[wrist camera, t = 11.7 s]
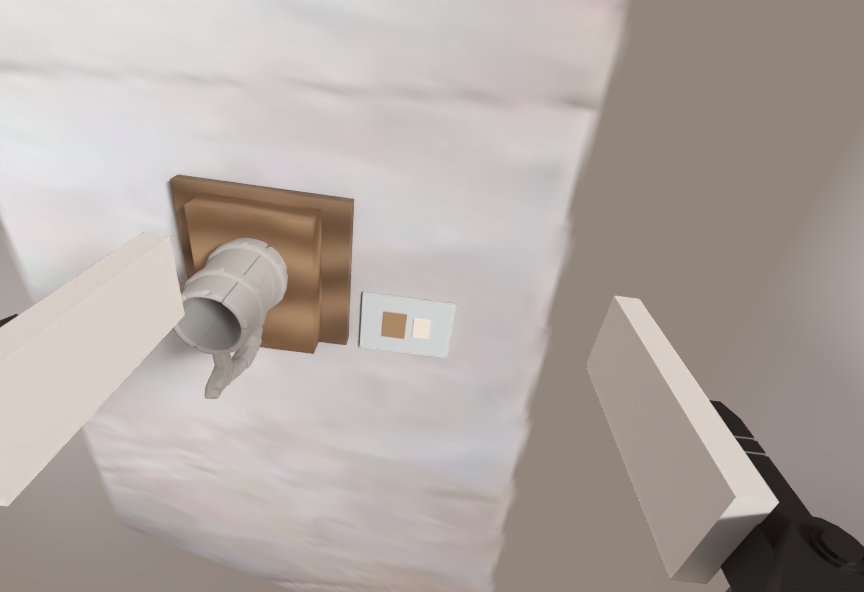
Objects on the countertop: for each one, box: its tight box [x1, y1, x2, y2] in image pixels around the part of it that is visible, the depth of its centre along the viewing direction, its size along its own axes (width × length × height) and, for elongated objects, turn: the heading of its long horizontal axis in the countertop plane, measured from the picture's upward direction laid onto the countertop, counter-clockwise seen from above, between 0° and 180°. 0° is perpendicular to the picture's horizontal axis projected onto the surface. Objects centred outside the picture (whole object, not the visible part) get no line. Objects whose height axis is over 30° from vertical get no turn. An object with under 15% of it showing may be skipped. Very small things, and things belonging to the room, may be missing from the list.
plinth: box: [170, 175, 354, 354], centre depth 48 cm, size 18×18×5 cm
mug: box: [173, 238, 288, 399], centre depth 41 cm, size 8×12×12 cm, turn 177°
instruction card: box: [360, 292, 457, 358], centre depth 54 cm, size 8×11×1 cm
